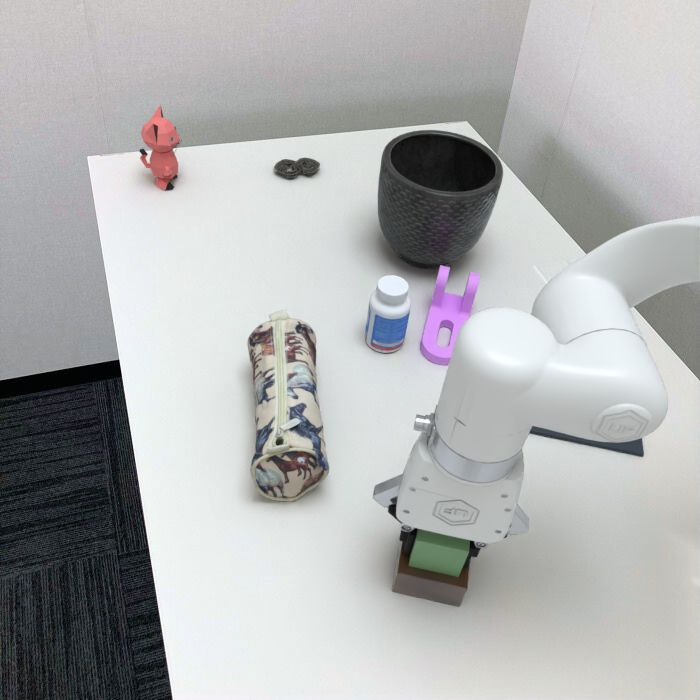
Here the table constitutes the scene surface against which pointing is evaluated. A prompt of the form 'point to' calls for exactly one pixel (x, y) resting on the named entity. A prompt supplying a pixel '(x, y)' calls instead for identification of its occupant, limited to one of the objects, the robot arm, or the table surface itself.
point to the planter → (436, 195)
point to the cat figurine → (161, 149)
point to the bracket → (447, 316)
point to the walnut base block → (428, 582)
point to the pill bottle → (388, 314)
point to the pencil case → (286, 409)
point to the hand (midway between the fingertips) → (436, 547)
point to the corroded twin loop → (296, 167)
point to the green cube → (439, 552)
